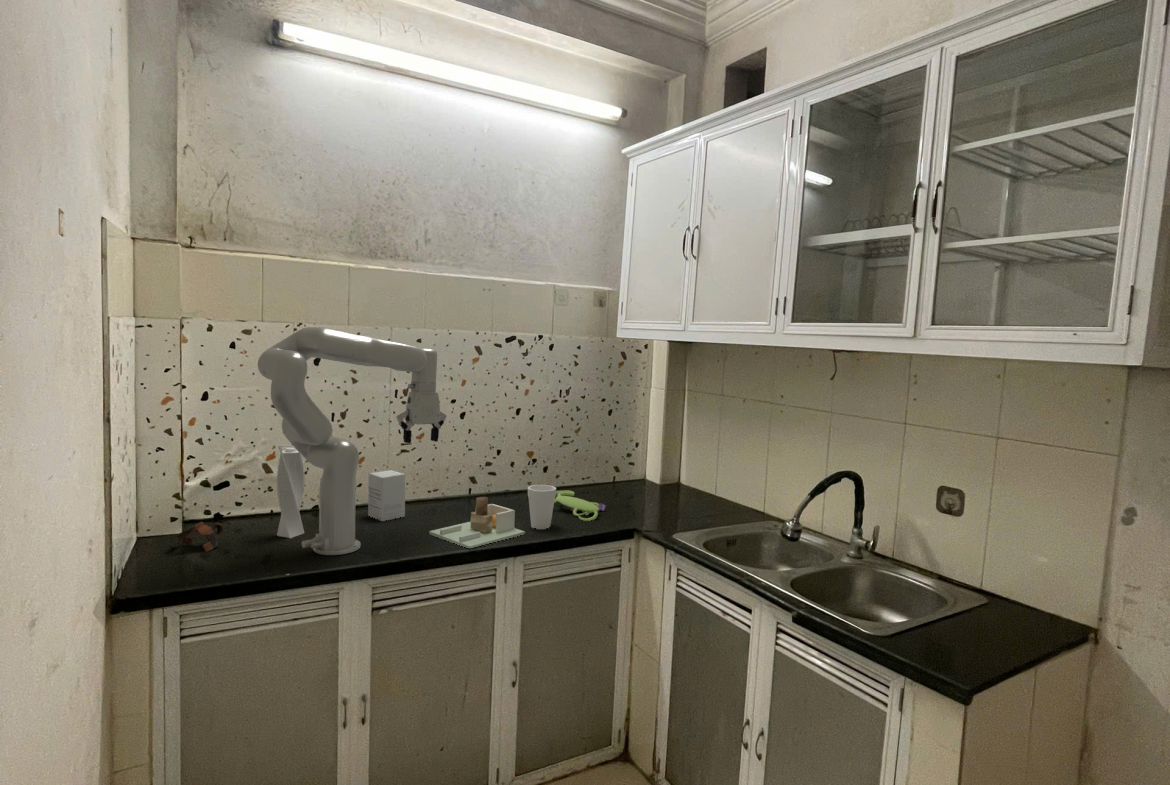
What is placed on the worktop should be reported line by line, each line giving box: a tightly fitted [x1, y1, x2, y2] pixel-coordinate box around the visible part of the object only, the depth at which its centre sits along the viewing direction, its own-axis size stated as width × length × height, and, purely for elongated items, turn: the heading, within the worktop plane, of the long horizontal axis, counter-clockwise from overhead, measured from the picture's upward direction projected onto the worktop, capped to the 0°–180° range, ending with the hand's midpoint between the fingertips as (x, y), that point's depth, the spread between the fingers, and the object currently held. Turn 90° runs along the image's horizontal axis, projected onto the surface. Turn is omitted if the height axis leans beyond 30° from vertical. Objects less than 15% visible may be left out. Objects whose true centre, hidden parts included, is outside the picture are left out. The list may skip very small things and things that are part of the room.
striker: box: [470, 496, 493, 533], centre depth 200 cm, size 4×7×10 cm, turn 49°
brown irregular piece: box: [175, 521, 224, 553], centre depth 178 cm, size 12×10×8 cm
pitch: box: [428, 503, 526, 549], centre depth 199 cm, size 22×20×7 cm
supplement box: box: [367, 469, 406, 522], centre depth 214 cm, size 9×9×15 cm
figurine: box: [554, 490, 607, 522], centre depth 232 cm, size 18×27×6 cm
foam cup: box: [527, 484, 557, 530], centre depth 210 cm, size 10×9×13 cm
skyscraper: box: [276, 444, 306, 539], centre depth 190 cm, size 8×8×28 cm
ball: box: [492, 515, 496, 527], centre depth 204 cm, size 4×4×4 cm
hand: (421, 441), depth 200 cm, fingers open, 9 cm apart
